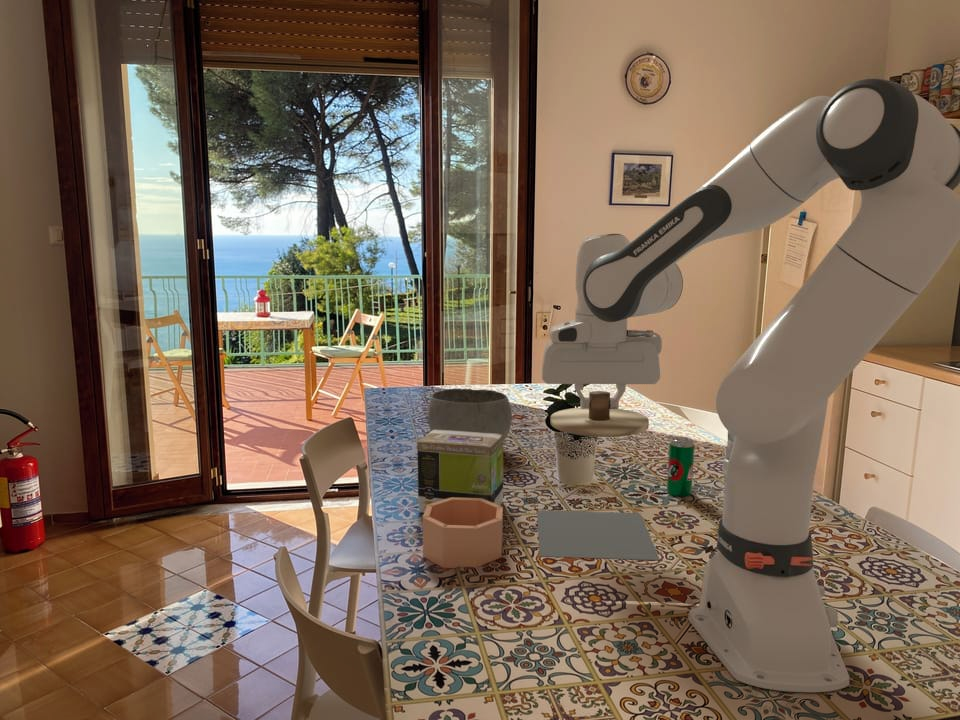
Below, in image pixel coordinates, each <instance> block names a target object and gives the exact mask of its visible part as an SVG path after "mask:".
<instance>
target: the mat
mask: <svg viewBox="0 0 960 720" xmlns="http://www.w3.org/2000/svg"><path fill="white" fill-rule="evenodd" d="M536 515H537V532H538V533H537V534H538V548H539V549H538V551H539V554H538V555H539V557H541V558H542V557H543V558H544V557H545V558H567V559H568V558H569V559H570V558H571V559H572V558H573V559H574V558H575V559H599V560H600V559H603V560H605V559H606V560H631V561H632V560H635V561H661V559H660V556H659V554H658V552H657V549H656V547H655V545H654V543H653V540H652V538H651V535H650V533H649V531H648V528H647V526H646V523H645V520H644V518H643V517H642V514H641V513H640V512H638V513H637V512H612V511H611V512H610V511H609V512H608V511H580V510H579V511H573V510H544V509H543V510H542V509H541V510H539V509H537V510H536Z"/></svg>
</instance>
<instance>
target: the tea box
mask: <svg viewBox="0 0 960 720" xmlns="http://www.w3.org/2000/svg"><path fill="white" fill-rule="evenodd" d="M416 447H417V450H416V451H417V454H416V455H417V456H416V457H417V499H418V500H417V502H418V512H419V513H423V514H424V512H425V509H426V506H427V505H428V504H431V503H435V502H438V501H441V500H444V499H447V498H451V497H459V498H483V499H485V500H487V501H490V502H492V503H494V504H497V505H499V506H502V504H503V502H504V441H503V434H497V433H481V432H467V431H452V430H437V429H434V430H432V431H431V430H430V432H428V433H426V435H424V436H423V437H422V438H421V439H419V440H418V441H417V442H416Z"/></svg>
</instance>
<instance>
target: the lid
mask: <svg viewBox="0 0 960 720" xmlns="http://www.w3.org/2000/svg"><path fill="white" fill-rule="evenodd" d="M588 398H589V399H590V404H589V405H590V409H581V407H573V408H566V409H561V410H558V411H556V412H554V413H552V414H551V415H550V425H551V426H552V427H553V428H554V429H555V430H558V431H560V432H564V433H566V434H567V433H568V434H570V435H571V434H572V435H577V436H585V437H598V438H612V437H613V438H615V437H626V436H627V437H628V436H633V435H638V434H641V433H643V432H645V431H647V430H648V429H649V426H650V425H649V424H650V423H649V422H650V420H649V418H648V417H647V416H646V415H644V414H642V413H640V412H637V411H632V410H630V409H629V410H628V409H622V408H618V409H610V398H611V392H609V391H604V390H594V391H590V392H589V393H588Z"/></svg>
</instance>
